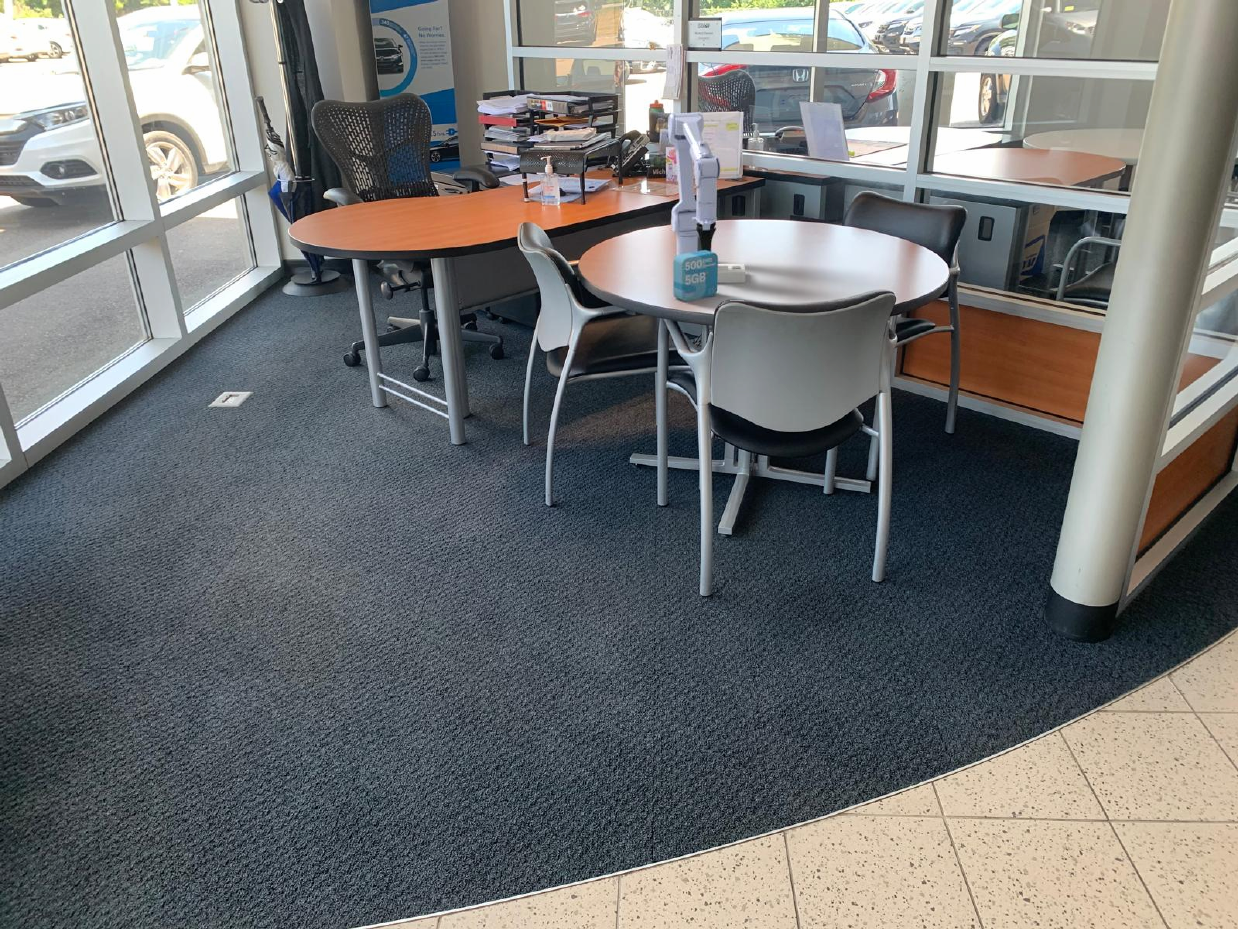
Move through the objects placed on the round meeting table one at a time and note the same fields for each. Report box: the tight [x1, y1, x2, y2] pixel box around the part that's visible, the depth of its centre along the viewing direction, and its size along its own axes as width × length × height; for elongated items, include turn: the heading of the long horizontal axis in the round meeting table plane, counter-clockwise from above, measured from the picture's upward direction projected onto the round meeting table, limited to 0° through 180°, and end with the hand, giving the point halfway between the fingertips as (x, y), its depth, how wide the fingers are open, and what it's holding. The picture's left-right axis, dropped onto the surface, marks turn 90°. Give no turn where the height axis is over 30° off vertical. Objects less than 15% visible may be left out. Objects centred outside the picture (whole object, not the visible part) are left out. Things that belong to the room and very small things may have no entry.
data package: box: [672, 250, 719, 302], centre depth 249 cm, size 12×4×12 cm, turn 122°
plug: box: [697, 235, 712, 252], centre depth 265 cm, size 4×4×6 cm
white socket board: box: [717, 263, 746, 284], centre depth 268 cm, size 10×18×3 cm, turn 86°
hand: (705, 249), depth 265 cm, fingers closed on plug, 4 cm apart
